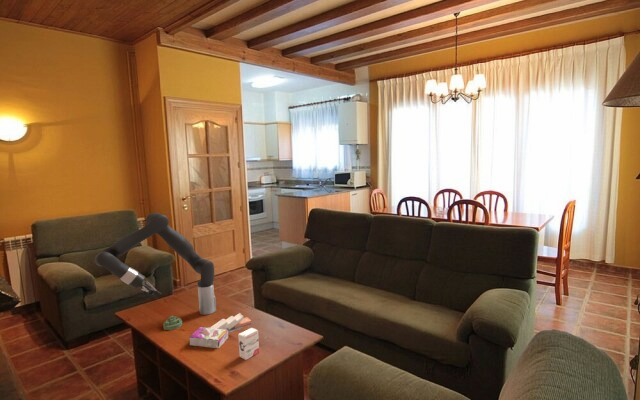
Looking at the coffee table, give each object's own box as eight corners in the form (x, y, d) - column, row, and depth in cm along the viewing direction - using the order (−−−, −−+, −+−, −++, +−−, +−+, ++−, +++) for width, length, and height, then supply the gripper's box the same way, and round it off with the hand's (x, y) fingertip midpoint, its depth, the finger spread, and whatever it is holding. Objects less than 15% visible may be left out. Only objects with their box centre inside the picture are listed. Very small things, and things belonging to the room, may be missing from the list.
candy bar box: (200, 325, 195) (228, 329, 192) (200, 334, 196) (228, 337, 193) (188, 336, 185) (218, 340, 181) (189, 345, 185) (219, 349, 182)
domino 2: (217, 328, 203) (233, 317, 207) (221, 332, 198) (236, 321, 203) (216, 326, 202) (231, 315, 207) (220, 330, 198) (235, 318, 202)
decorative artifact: (159, 328, 207) (171, 332, 201) (158, 316, 206) (169, 320, 200) (175, 321, 215) (186, 325, 210) (174, 309, 214) (185, 313, 209)
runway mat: (235, 322, 211) (235, 321, 211) (242, 328, 203) (242, 328, 203) (199, 333, 199) (199, 332, 199) (205, 340, 191) (205, 339, 191)
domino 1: (208, 331, 200) (224, 320, 205) (212, 335, 195) (228, 324, 200) (207, 329, 199) (223, 318, 204) (210, 333, 195) (227, 321, 200)
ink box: (253, 349, 181) (251, 326, 180) (259, 352, 178) (258, 329, 176) (239, 356, 175) (237, 333, 173) (245, 360, 171) (244, 336, 170)
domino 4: (231, 324, 207) (247, 319, 213) (234, 328, 203) (251, 323, 208) (230, 322, 207) (247, 317, 213) (234, 325, 202) (251, 320, 208)
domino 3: (225, 326, 205) (240, 315, 210) (229, 329, 201) (244, 318, 205) (224, 323, 205) (239, 312, 209) (228, 327, 200) (243, 316, 205)
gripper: (137, 275, 181) (166, 294, 188) (137, 268, 193) (164, 286, 199) (126, 287, 179) (156, 306, 186) (127, 279, 191) (155, 297, 198)
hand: (160, 295), depth 193 cm, fingers closed
